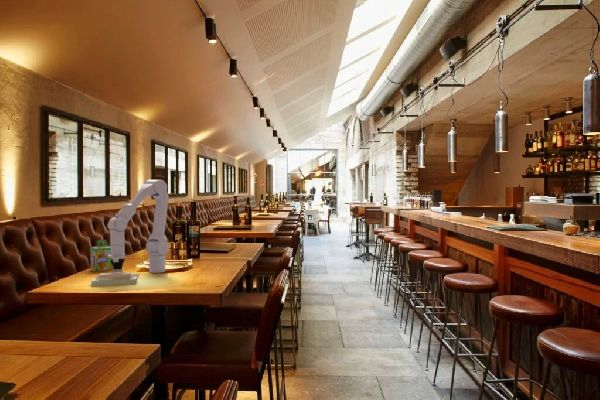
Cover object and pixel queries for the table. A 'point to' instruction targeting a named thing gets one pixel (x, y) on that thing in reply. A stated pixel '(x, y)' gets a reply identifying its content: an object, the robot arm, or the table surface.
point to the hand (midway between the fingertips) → (118, 275)
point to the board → (122, 284)
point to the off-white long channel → (114, 282)
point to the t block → (115, 275)
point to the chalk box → (100, 257)
